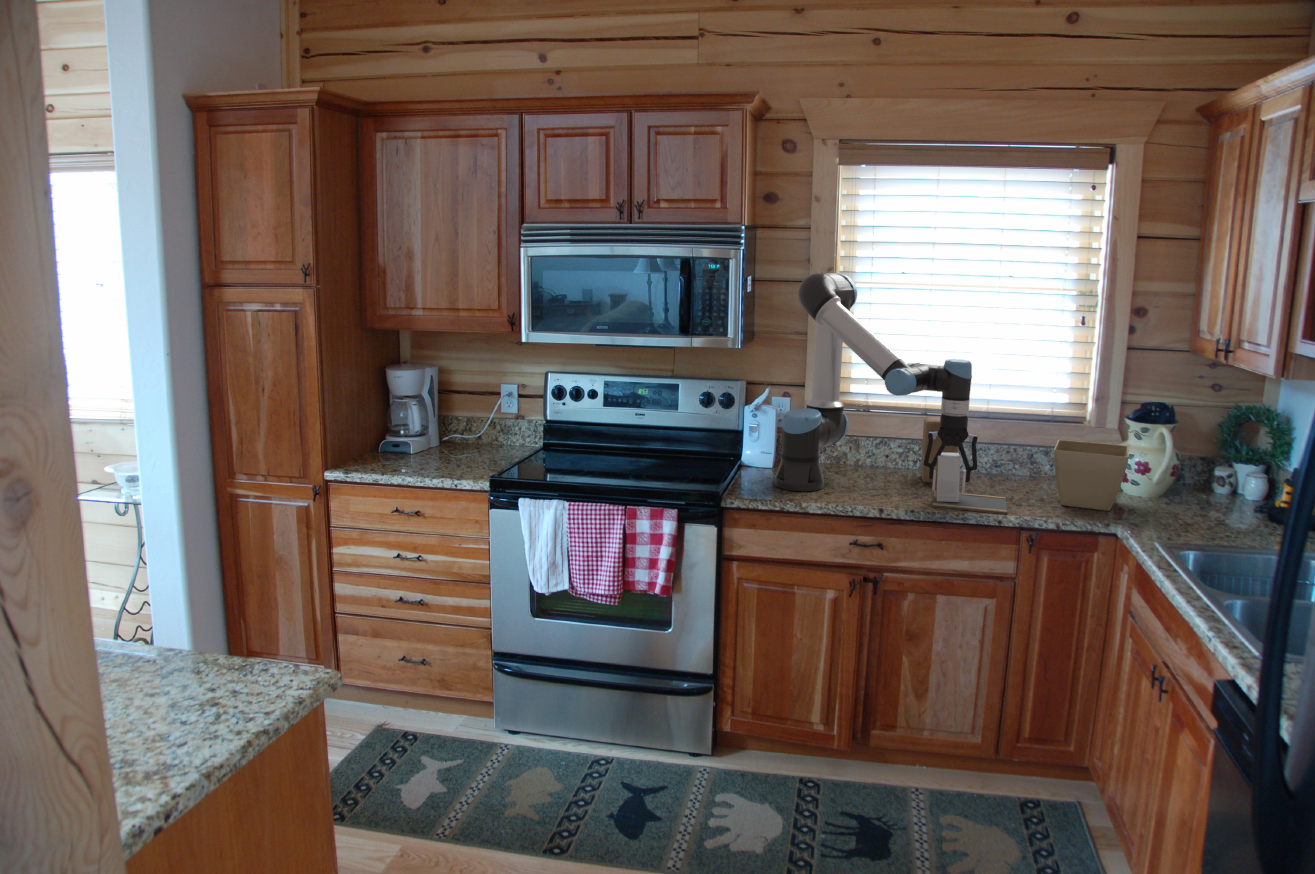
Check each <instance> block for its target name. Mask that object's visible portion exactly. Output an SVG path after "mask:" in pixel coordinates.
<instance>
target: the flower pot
mask: <svg viewBox="0 0 1315 874" xmlns="http://www.w3.org/2000/svg"><path fill="white" fill-rule="evenodd" d="M1129 451H1130V446H1129V445H1122V444H1114V443H1102V442H1100V443H1099V442H1095V441H1094V442H1092V441H1091V442H1090V441H1080V440H1079V441H1078V440H1068V439H1058V440H1057V441H1056V444H1055V446H1054V448H1053V463H1054V474H1055V481H1056V487H1057V493H1058V498H1059V501H1060V505H1062V506H1068V507H1075V508H1082V509H1090V510H1098V511H1108V512H1109V511H1110V510H1111V509H1112V507H1113V506H1114V503H1115V501H1116V498H1117V497H1118V494H1119V491H1120V489H1121V486H1122V483H1123V480H1124V476H1125V473H1126V470H1127V467H1128V462H1129V460H1130V459H1129V458H1130V454H1129V453H1130V452H1129Z"/></svg>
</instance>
